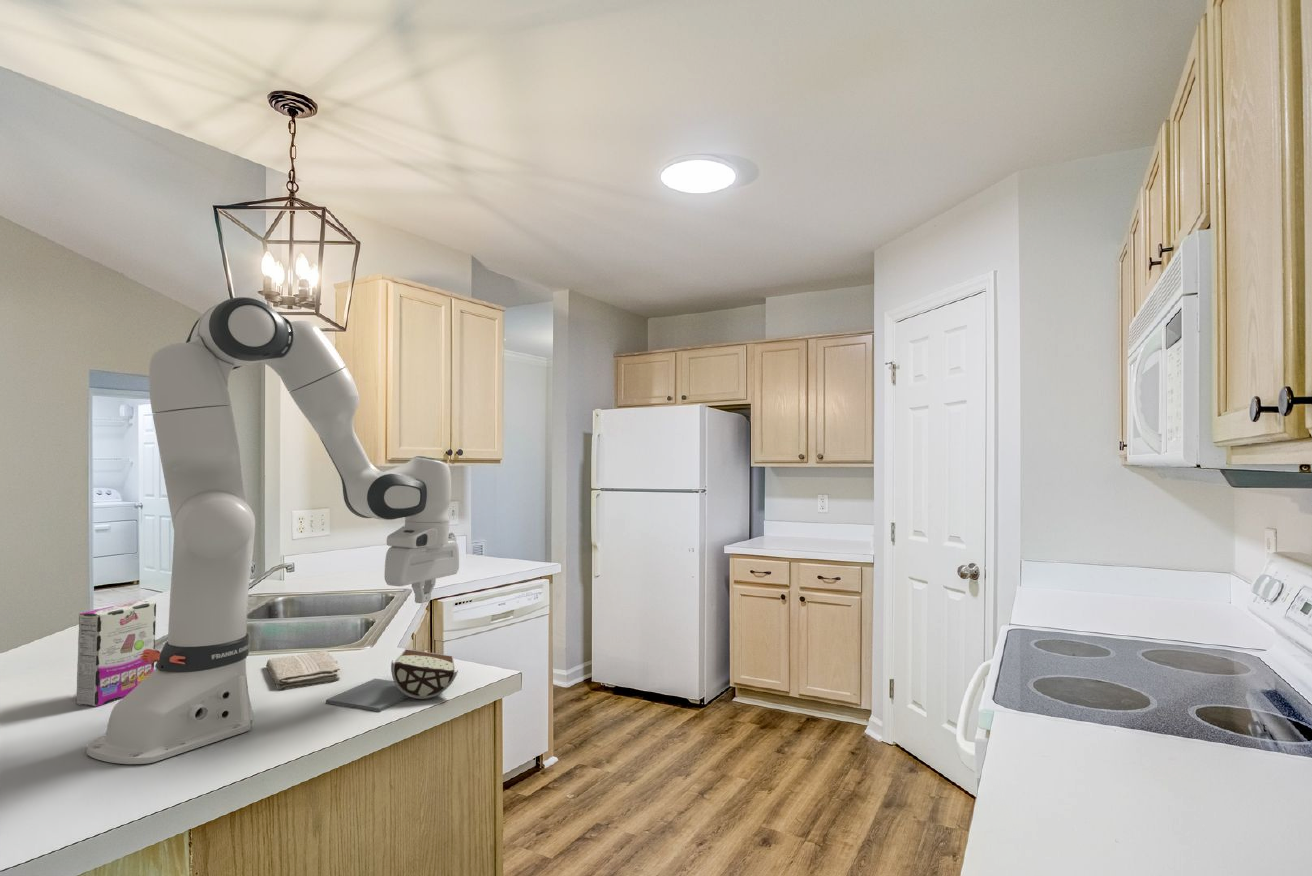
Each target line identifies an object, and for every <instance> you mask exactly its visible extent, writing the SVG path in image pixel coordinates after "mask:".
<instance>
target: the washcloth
mask: <svg viewBox="0 0 1312 876" xmlns="http://www.w3.org/2000/svg"><path fill="white" fill-rule="evenodd" d="M265 667H266V668H267V671H268V672H269V674H270V676H271V678H272V679H273V681H274V683H276V684H275V685H276V689H277V690H278V691H280V690H282V688H283V689H286V688H288V689H294V688H293V687H297V688H303V687H308V686H307V685H309V686H313V685H312V684H315V685H320V684H319V683H322V684H325V682H328V683H333V682H337V681H339V680H340V679H341V677H340V676H339V674H338V671H340V670H341V667H340V666H339V664H338V660H337V659H335V658H334V656H333V655H332V654H331V653H330V652H329V651H328V650H324V651H323V650H319V651H311V652H307V653H304V654H298V655H290V656H289V655H288V656H281V657H275V658H269V659H267V661H266V664H265Z"/></svg>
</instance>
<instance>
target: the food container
mask: <svg viewBox="0 0 1312 876" xmlns="http://www.w3.org/2000/svg"><path fill="white" fill-rule="evenodd" d="M454 660H455V659H454V656H453V655H448V654H447V655H446V654H441V653H433V652H429V651H419V650H416V649H415V650H413V649H407V648H405V649H404V650H403V651H402V653H401V654H400V655H399V656H398V657H397V658H396V660H395V661H394V660H391V664H390V671H391V672H390V673H391V676H392V679H393V680H392V681H394V683H395V684H396V686H397V687H398V689H399V690H400V691H401V692H403V693H404V694H406V695H407V696H410V697H409V698H413V699H418V700H425V699H430V698H433V697H436V696H439V695H440V694H442V693H443V692H445V690H446V691H447V689H448V688H449V687H450V686H451V684H453V682H454V681H455V679H456V677H457V676H458V673H459V669H457V670H456V668H455V662H454Z"/></svg>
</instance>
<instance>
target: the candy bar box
mask: <svg viewBox="0 0 1312 876" xmlns="http://www.w3.org/2000/svg"><path fill="white" fill-rule="evenodd" d="M156 615H157V602H155V601H145V600H136V601H131V602H126V603H122V604H116V605H113V606H109V607H108V606H107V607H104V608H103V607H102V608H100V609H99V608H98V609H93V610H89V611H86V612H80V613H79V614H78V637H77V638H78V640H77V641H78V642H77V643H78V644H77V651H78V652H77V672H76V674H77V675H76V696H75V697H76V698H75V701H76V702H75V704H76V705H78V704H80V705H79V706H85V705H86V706H87V707H100V706H102V705H106V704H109V703H112V702H114V700H115V701H117V700H116V699H118V700H121V699H123V698H124V697H125V696H126V695H127V694H128V693H130V692H131V691H132V690H133V689H134V688H135V687H136V686H137V685H139V684H140V683H141V682H142V681H143V680H144V679H145V678H146V677H147V676H148V675H149V674H151V673H152V672H153V671H154V670H155V663H150V662H143V661H144V660H141V659H142V658H140V656H143V655H141V654H142V653H145V652H143V651H144V650H146V649H152V650H156V649H155V646H156V645H155V643H156V642H155V641H156V623H157V622H156V617H157V616H156ZM111 701H112V702H111Z"/></svg>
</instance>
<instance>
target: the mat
mask: <svg viewBox="0 0 1312 876" xmlns="http://www.w3.org/2000/svg"><path fill="white" fill-rule="evenodd" d="M408 698H411V697H410V696H407V695H406V694H404V693H403V692H401V691H400V690H399V689H398V687H397V686H396V684H395V683H394V680H388V679H382V678H381V679H380V678H373V679H371V680H369V681H366V682H364V683H361V684H359V685H357V686H354V687H351V688H350V689H348V690H345V691H342V692H339V693H337V694H336V695H333V696H331V697H329V698H326V699H325V703H326V704H332V705H336V704H338V705H337V706H342V705H343V706H344V707H348V706H349V708H356V709H360V708H362V709H361V710H366V709H367V710H368V711H372V712H373V711H374V712H382V711H383V710H386V709H388V708H390V707H393V706H394V705H396V704H399V703H400V702H402V701H404V700H406V699H408Z"/></svg>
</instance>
